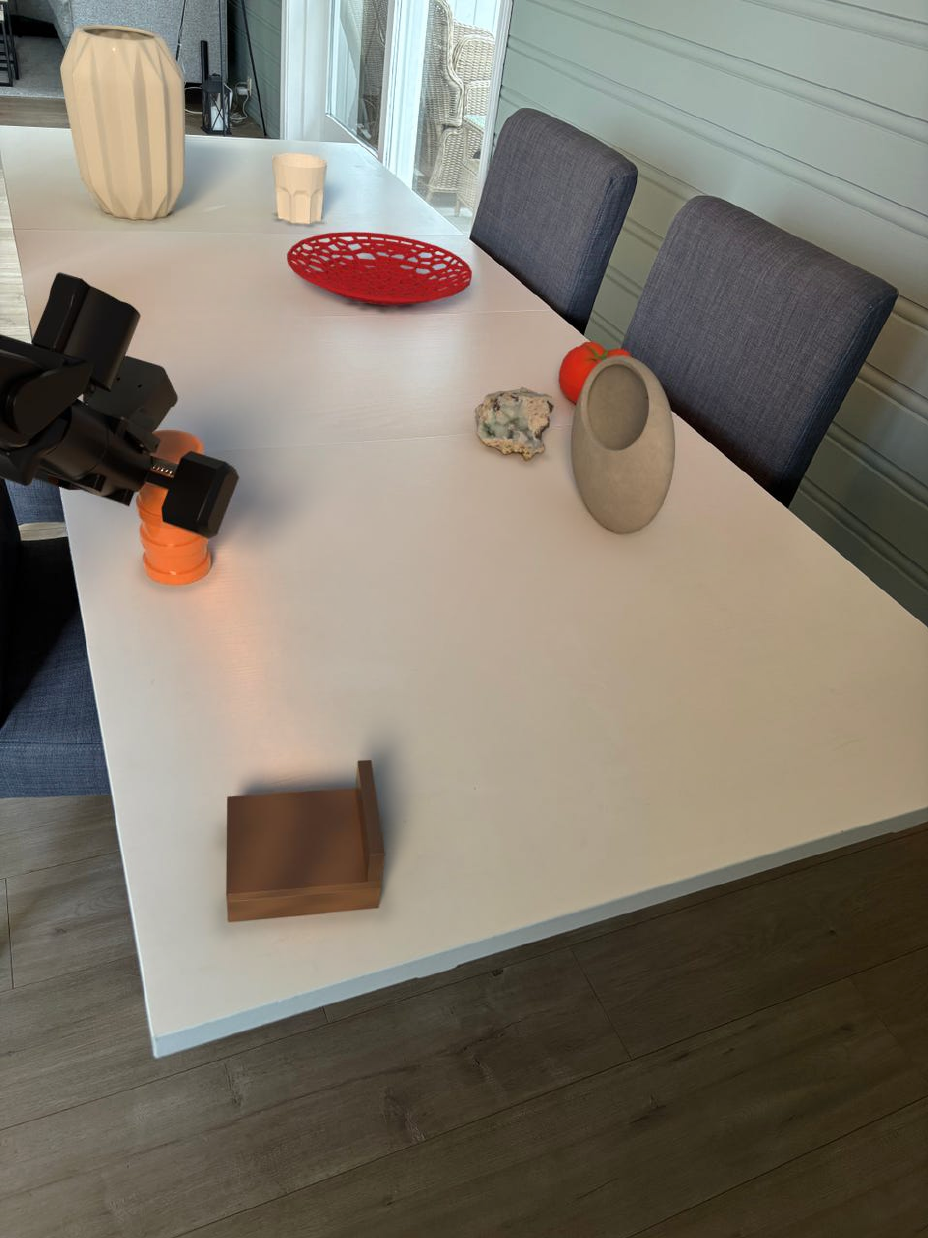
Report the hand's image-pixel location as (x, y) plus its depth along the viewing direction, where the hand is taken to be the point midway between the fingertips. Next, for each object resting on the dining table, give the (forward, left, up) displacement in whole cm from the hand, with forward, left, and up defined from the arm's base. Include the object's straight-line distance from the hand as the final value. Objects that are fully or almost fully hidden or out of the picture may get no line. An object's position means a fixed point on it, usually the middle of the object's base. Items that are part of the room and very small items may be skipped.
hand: (172, 496), depth 83 cm
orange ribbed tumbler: (0, 0, -8) cm, 8 cm away
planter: (+46, +8, -8) cm, 47 cm away
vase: (-12, +107, -8) cm, 108 cm away
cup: (+17, +110, -8) cm, 111 cm away
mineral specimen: (+39, +26, -8) cm, 47 cm away
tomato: (+54, +37, -8) cm, 66 cm away
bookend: (+10, -35, -8) cm, 38 cm away
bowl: (+28, +73, -8) cm, 78 cm away
